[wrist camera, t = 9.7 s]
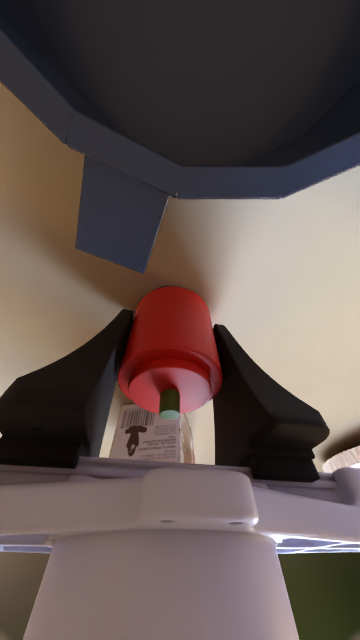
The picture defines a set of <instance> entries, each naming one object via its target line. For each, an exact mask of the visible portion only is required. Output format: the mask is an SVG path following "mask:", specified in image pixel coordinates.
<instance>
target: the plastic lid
mask: <svg viewBox="0 0 360 640" xmlns="http://www.w3.org/2000/svg"><path fill="white" fill-rule="evenodd" d="M343 467H354V468H360V446H357V447H355V448H352V449H348V450H347V451H343V452H342V453H338V455H335V456H333V457H332V458H330V459H329V460H327V462H325V463H324V465H323V468H322V469H323V471H324V473H333V471H335V470H337V469H339V468H343Z"/></svg>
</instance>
